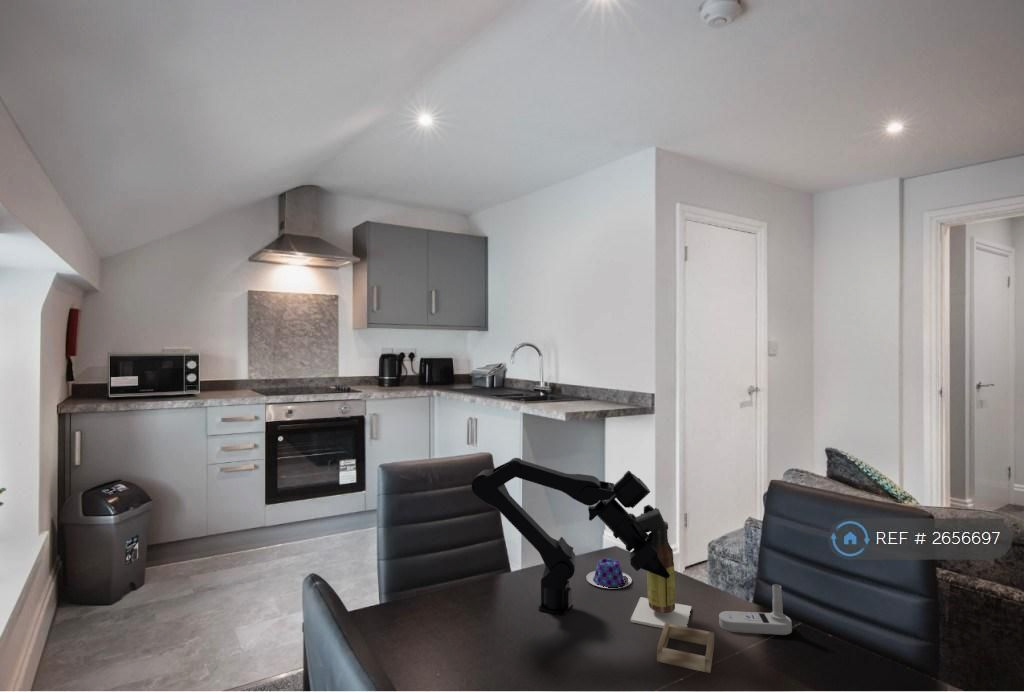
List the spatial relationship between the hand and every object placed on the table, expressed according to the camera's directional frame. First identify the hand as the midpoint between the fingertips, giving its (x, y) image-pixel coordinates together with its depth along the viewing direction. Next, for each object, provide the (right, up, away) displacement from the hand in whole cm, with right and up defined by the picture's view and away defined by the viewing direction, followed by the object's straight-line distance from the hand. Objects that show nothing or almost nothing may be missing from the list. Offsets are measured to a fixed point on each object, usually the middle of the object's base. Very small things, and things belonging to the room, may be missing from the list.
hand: (666, 571), depth 128 cm
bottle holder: (0, -10, -15) cm, 19 cm away
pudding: (-10, -11, +19) cm, 24 cm away
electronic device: (+18, -11, -6) cm, 22 cm away
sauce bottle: (-1, -9, 0) cm, 9 cm away
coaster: (-1, -10, 0) cm, 10 cm away
